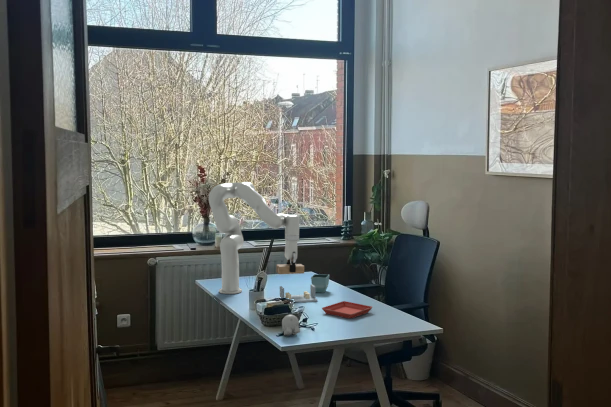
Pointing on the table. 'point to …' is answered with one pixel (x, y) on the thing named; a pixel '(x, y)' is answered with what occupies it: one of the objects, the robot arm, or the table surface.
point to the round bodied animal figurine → (290, 325)
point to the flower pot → (320, 282)
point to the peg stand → (300, 298)
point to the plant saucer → (346, 309)
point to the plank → (286, 269)
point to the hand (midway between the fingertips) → (290, 270)
